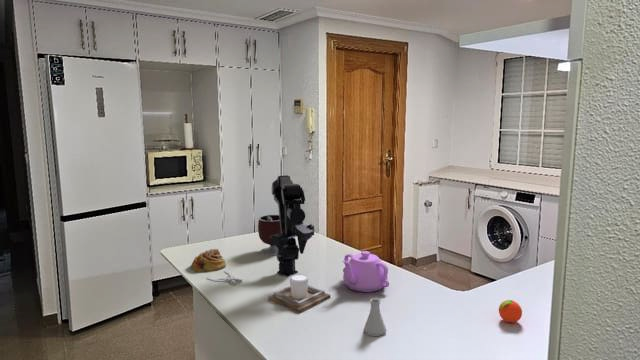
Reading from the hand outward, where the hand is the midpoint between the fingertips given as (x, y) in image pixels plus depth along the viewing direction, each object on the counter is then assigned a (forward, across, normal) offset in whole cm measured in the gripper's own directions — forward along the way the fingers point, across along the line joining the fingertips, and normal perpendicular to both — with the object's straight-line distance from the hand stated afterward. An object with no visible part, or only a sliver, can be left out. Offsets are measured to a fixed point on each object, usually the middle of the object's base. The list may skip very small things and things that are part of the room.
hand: (293, 256), depth 167 cm
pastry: (+12, -9, +44) cm, 47 cm away
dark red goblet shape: (+12, +22, +37) cm, 45 cm away
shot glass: (+11, -7, -10) cm, 16 cm away
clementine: (+12, +25, -73) cm, 78 cm away
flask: (+12, -8, -44) cm, 46 cm away
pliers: (+13, -13, +26) cm, 31 cm away
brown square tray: (+12, -7, -10) cm, 17 cm away
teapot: (+12, +16, -21) cm, 29 cm away
